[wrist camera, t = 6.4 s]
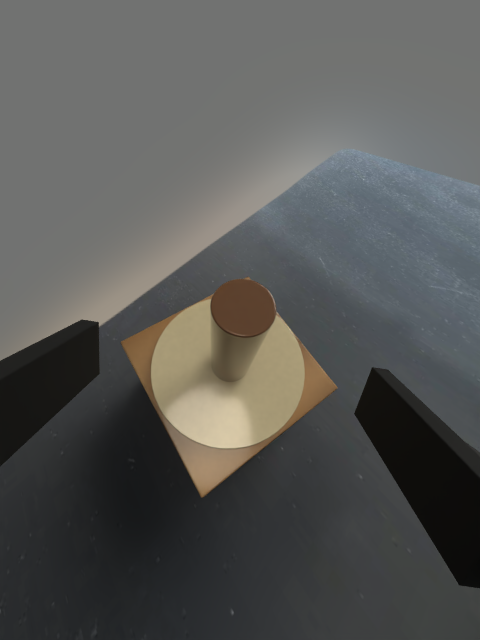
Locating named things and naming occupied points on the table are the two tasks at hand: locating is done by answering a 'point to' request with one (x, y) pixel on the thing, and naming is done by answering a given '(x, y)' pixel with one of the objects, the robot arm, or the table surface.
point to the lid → (228, 368)
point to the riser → (202, 460)
